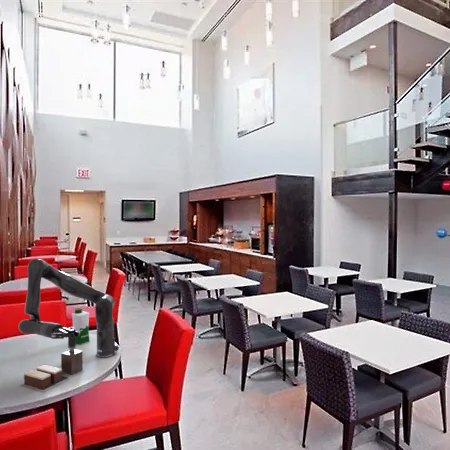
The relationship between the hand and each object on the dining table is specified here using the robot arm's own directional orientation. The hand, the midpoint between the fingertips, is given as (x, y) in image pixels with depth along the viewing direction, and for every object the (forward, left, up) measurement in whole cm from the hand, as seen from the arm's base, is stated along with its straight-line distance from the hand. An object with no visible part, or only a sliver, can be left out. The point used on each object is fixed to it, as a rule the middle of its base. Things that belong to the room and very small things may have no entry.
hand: (76, 334), depth 184 cm
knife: (+2, -2, -17) cm, 17 cm away
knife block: (+2, -2, -20) cm, 20 cm away
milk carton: (-7, -47, -20) cm, 52 cm away
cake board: (+15, +4, -20) cm, 25 cm away
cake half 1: (+17, +6, -19) cm, 26 cm away
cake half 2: (+12, +2, -19) cm, 23 cm away
